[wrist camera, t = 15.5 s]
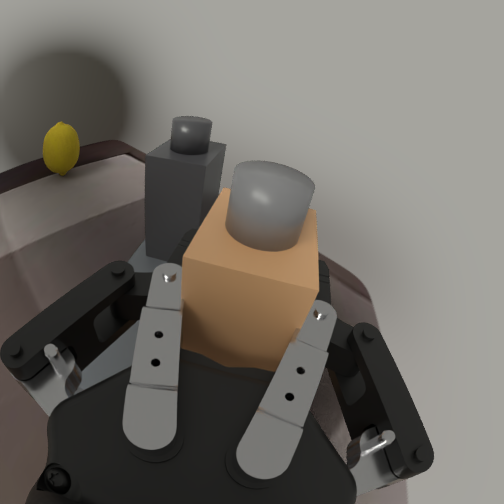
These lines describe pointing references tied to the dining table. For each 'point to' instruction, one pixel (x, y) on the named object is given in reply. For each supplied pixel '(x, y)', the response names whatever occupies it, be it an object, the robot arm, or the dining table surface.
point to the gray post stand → (167, 217)
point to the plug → (252, 268)
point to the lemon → (61, 148)
